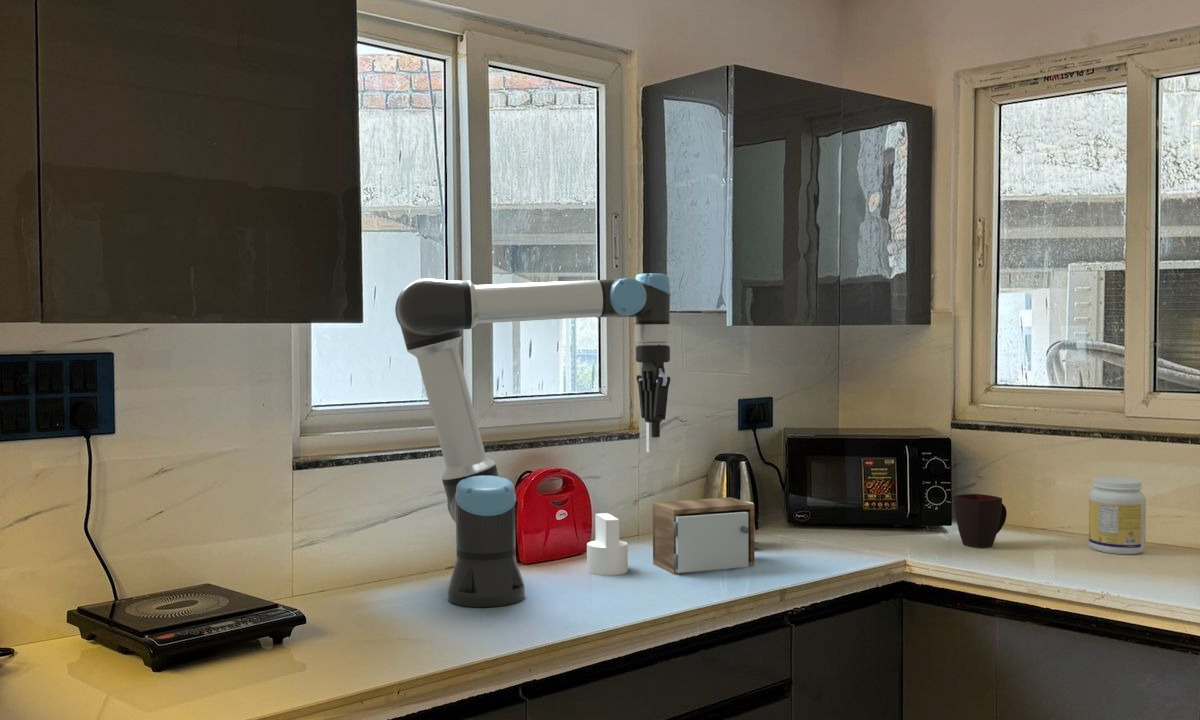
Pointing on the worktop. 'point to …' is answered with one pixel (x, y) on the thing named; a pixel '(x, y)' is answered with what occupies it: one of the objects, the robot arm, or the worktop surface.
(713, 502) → the cabinet
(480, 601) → the robot arm
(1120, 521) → the supplement tub
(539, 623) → the worktop surface
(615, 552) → the base with upright slab
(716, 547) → the door
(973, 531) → the mug
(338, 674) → the worktop surface
